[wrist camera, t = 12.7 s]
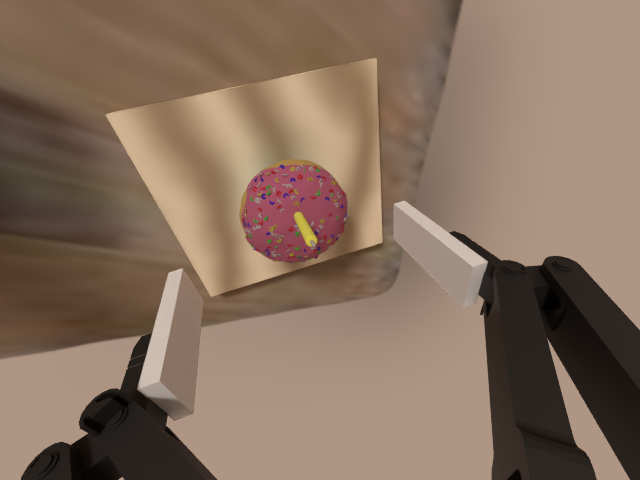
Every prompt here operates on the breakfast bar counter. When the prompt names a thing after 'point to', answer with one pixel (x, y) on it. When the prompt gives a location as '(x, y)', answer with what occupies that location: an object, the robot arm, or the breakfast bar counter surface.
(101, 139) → the breakfast bar counter surface
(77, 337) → the breakfast bar counter surface
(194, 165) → the serving board
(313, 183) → the cupcake
